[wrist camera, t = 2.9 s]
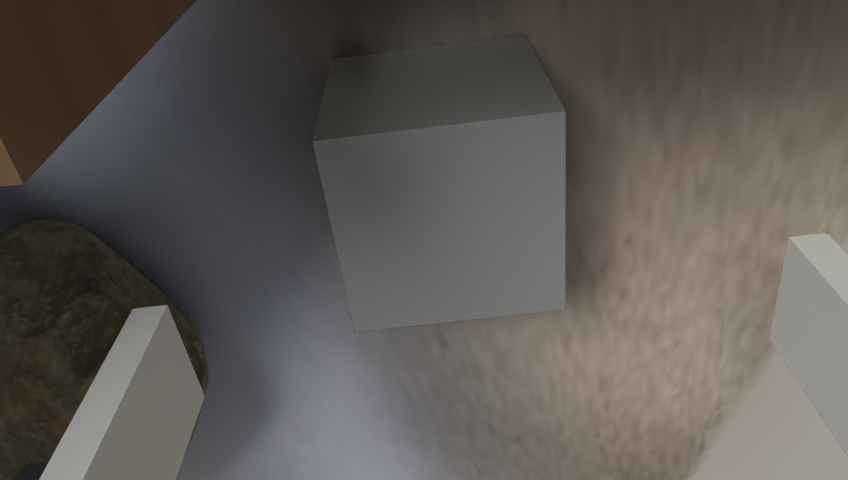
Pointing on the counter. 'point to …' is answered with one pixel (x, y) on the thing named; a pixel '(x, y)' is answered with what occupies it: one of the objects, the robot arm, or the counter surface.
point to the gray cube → (445, 183)
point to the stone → (63, 331)
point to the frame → (66, 68)
